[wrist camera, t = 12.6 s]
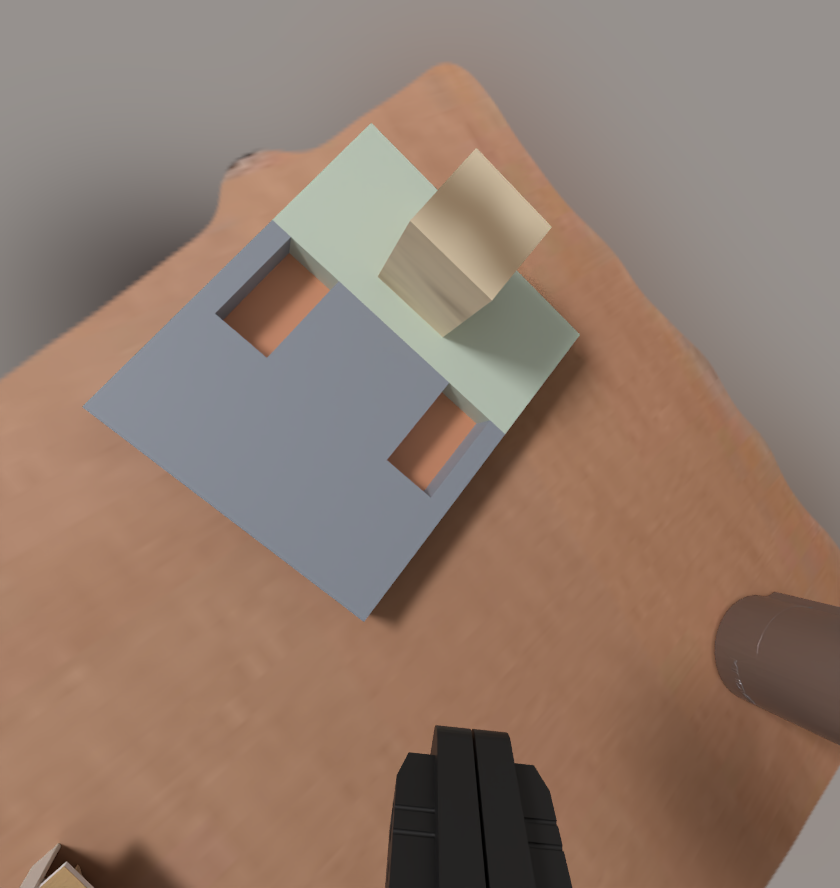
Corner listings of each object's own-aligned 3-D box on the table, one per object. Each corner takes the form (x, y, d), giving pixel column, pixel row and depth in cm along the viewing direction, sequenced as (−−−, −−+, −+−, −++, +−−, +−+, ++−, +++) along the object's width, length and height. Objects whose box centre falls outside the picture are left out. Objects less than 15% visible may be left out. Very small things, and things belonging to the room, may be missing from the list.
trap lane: (363, 149, 38) (371, 122, 35) (558, 344, 42) (579, 334, 39) (98, 412, 32) (82, 406, 29) (356, 609, 36) (363, 621, 33)
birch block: (430, 217, 36) (476, 147, 28) (491, 277, 37) (551, 227, 29) (377, 276, 34) (410, 220, 27) (442, 337, 35) (492, 300, 28)
